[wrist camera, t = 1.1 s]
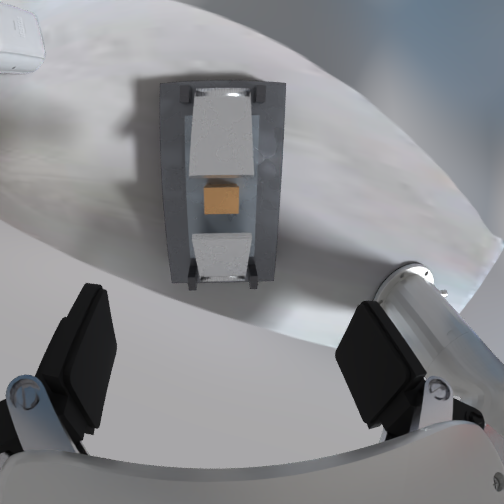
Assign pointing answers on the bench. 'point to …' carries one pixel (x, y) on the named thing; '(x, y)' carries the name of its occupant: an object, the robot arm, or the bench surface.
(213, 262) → the strap
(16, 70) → the photo printer
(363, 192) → the bench surface
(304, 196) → the bench surface
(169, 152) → the tray
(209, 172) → the strap
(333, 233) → the bench surface
